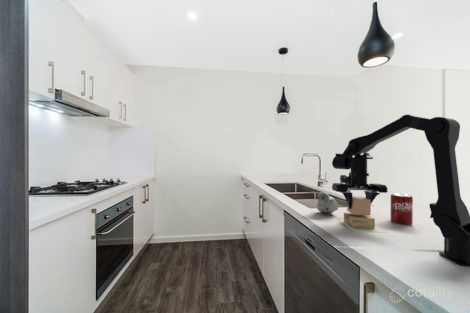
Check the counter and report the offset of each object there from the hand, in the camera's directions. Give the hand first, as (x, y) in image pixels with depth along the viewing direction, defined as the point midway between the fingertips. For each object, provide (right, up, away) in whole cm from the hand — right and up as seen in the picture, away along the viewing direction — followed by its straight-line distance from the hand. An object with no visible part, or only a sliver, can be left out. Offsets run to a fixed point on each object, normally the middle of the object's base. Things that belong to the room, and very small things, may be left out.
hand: (358, 209), depth 83 cm
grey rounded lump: (-5, -7, +16) cm, 18 cm away
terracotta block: (0, -2, 0) cm, 2 cm away
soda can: (+20, -7, +4) cm, 22 cm away
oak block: (0, -7, 0) cm, 7 cm away
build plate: (+1, -7, +1) cm, 7 cm away
